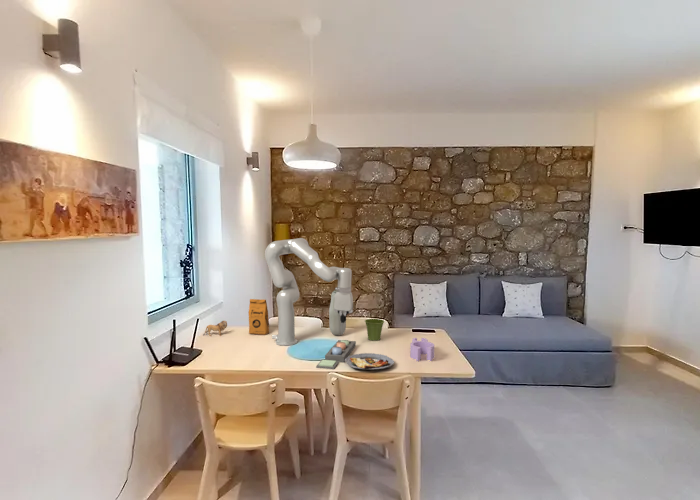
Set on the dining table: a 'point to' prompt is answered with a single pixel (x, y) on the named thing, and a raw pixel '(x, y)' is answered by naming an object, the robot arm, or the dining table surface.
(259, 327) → the coffee package
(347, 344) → the sage button
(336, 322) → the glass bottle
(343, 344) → the peach rounded dome
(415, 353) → the clip
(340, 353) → the slate button
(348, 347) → the button panel
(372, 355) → the food plate
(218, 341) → the dining table surface
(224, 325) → the lion figurine
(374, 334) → the plant pot
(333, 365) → the card
